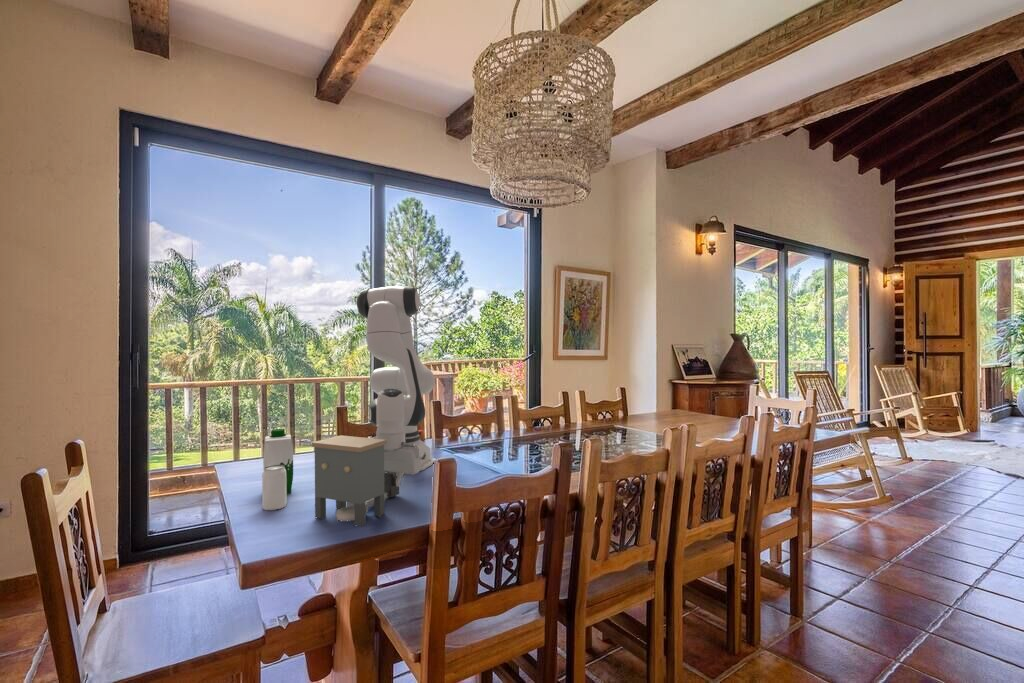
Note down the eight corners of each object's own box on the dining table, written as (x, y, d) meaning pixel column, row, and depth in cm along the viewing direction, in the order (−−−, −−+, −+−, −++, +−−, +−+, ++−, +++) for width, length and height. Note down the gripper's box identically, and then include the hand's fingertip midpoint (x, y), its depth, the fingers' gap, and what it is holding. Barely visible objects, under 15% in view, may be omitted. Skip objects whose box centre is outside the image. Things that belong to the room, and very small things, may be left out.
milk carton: (292, 486, 170) (292, 427, 170) (294, 494, 162) (293, 432, 161) (263, 490, 166) (263, 429, 166) (263, 498, 158) (262, 434, 158)
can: (264, 512, 145) (264, 471, 145) (260, 506, 150) (260, 466, 150) (288, 508, 149) (288, 467, 148) (284, 502, 154) (283, 463, 154)
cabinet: (340, 506, 150) (340, 435, 150) (387, 514, 143) (386, 439, 143) (311, 518, 140) (311, 442, 139) (360, 527, 133) (359, 447, 133)
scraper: (386, 492, 161) (386, 470, 161) (404, 494, 158) (404, 472, 158) (346, 509, 145) (346, 485, 145) (366, 512, 142) (366, 488, 142)
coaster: (353, 511, 145) (353, 505, 145) (362, 518, 140) (362, 511, 140) (332, 517, 141) (332, 510, 141) (341, 524, 136) (341, 516, 136)
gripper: (424, 442, 157) (424, 486, 157) (371, 437, 165) (372, 479, 165) (412, 446, 151) (413, 491, 151) (358, 440, 159) (359, 484, 159)
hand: (391, 485), depth 158 cm, fingers closed on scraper, 3 cm apart
